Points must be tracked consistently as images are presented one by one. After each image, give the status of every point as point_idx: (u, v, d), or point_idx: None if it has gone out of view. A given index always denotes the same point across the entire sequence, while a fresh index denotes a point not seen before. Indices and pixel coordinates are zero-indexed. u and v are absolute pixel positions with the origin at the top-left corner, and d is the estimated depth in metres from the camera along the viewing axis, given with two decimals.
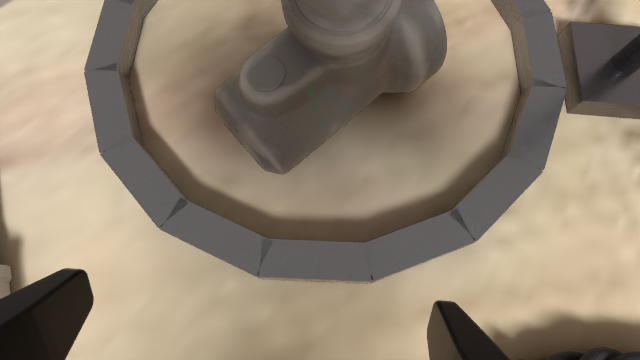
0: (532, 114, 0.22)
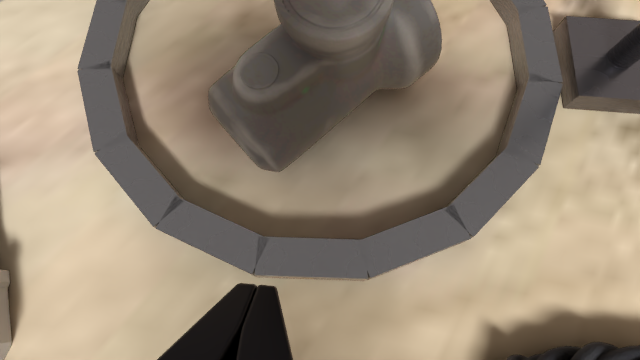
0: (528, 109, 0.22)
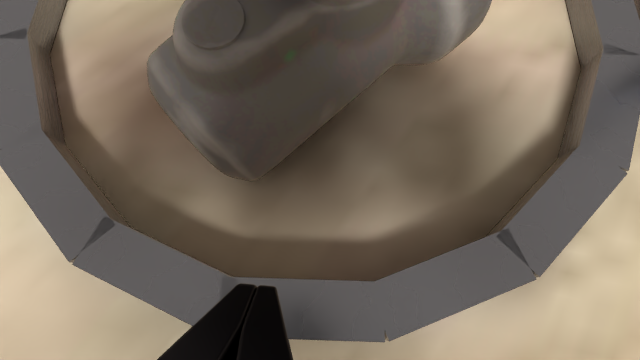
0: (605, 92, 0.16)
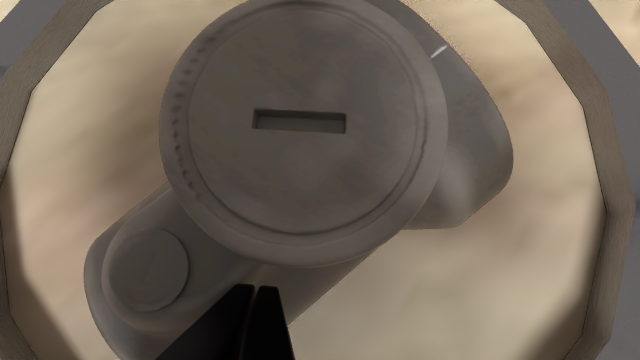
0: (639, 266, 0.14)
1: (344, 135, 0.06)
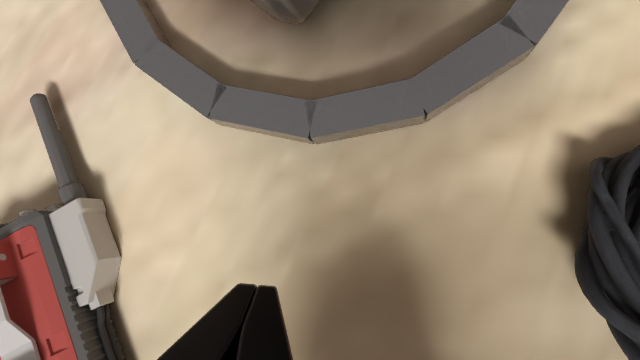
0: None
1: None
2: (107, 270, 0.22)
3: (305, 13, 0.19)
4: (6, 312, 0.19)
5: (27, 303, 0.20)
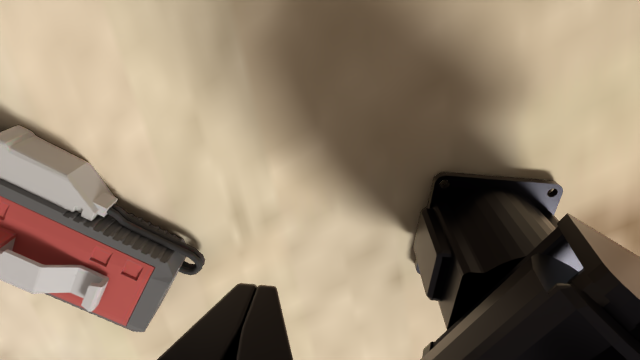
0: None
1: None
2: (86, 179, 0.20)
3: None
4: (35, 262, 0.19)
5: (46, 246, 0.20)
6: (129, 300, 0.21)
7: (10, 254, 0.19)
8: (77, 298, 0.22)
